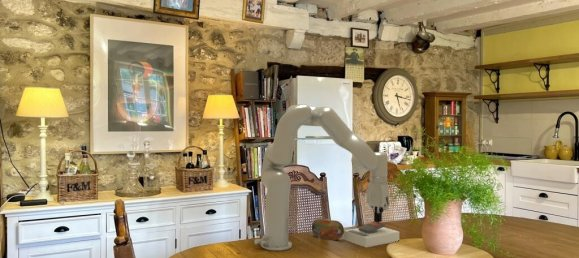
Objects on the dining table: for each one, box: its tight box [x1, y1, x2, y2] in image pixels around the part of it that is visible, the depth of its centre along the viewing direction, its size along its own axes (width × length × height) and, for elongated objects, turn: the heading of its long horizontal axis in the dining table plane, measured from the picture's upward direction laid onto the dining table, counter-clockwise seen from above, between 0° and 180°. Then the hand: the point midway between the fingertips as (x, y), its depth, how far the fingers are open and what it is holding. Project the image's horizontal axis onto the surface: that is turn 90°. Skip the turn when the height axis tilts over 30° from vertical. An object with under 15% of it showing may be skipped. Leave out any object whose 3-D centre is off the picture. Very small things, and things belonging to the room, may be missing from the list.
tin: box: [311, 218, 345, 241], centre depth 190 cm, size 15×3×8 cm, turn 57°
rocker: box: [358, 221, 386, 233], centre depth 188 cm, size 10×6×1 cm, turn 124°
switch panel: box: [343, 226, 400, 248], centre depth 188 cm, size 20×14×5 cm
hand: (377, 221), depth 190 cm, fingers closed
